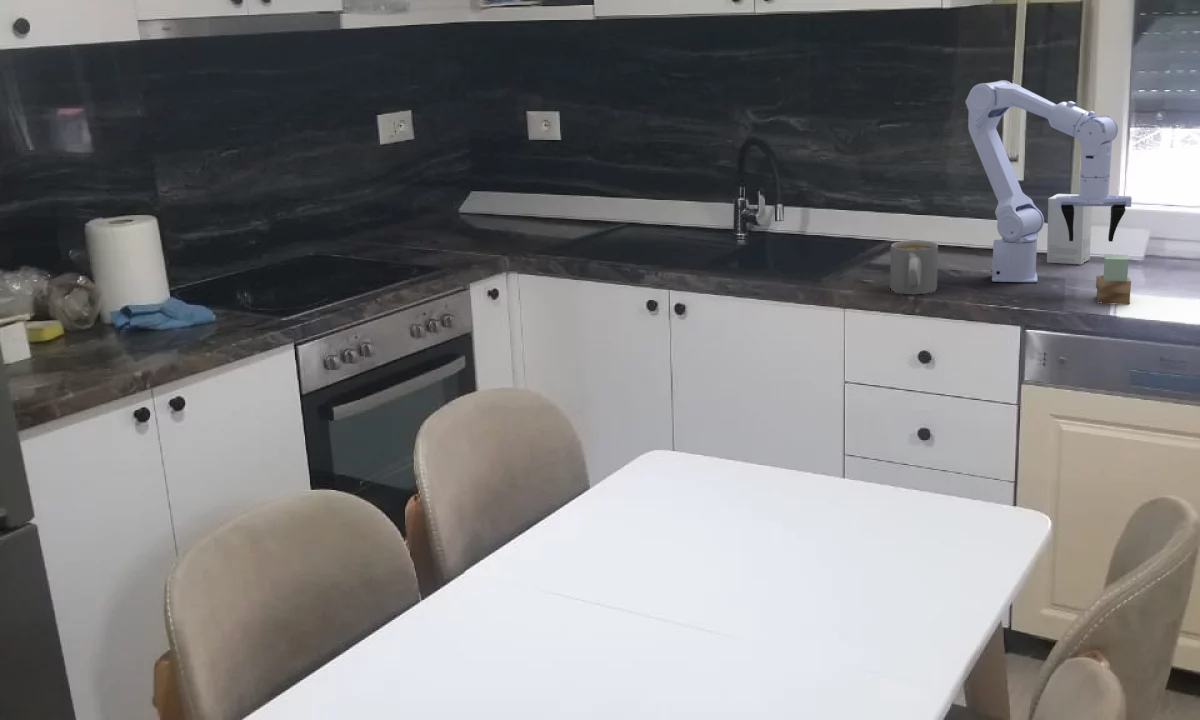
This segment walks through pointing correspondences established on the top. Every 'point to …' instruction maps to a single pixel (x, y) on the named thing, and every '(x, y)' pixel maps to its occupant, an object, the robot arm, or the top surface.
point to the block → (1115, 267)
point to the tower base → (1113, 298)
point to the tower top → (1112, 286)
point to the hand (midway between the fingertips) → (1090, 240)
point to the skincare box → (1059, 234)
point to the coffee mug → (913, 267)
